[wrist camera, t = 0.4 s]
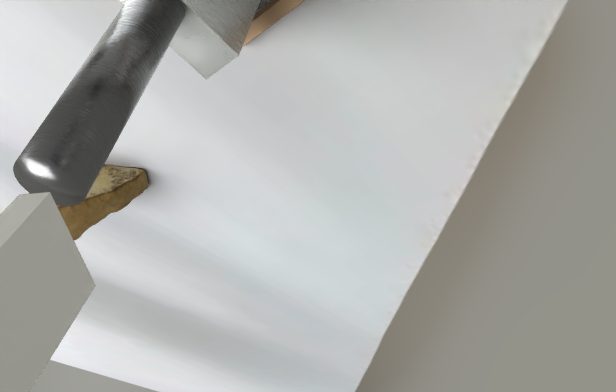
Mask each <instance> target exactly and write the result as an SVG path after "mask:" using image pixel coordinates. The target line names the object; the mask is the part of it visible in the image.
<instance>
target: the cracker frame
mask: <svg viewBox="0 0 616 392" xmlns="http://www.w3.org/2000/svg"><path fill="white" fill-rule="evenodd" d="M303 1H304V0H272V1H270V2H269V3H268V4H266V5H265V6H264V7H263V8H261V9H260V10H259V11H258V12H256V14H255V16H254V19H253V21H252V24H251V26H250V29H249V31H248V34H247V36H246V39H245V41H244V44H243V46H244V45H245V44H247V43H248V42H249V41H251V40H252V39H253V38H255V37H256V36H257V35H259V34H260V33H261V32H263V31H264V30H265V29H267V28H268V27H269V26H271V25H272V24H273V23H275V22H276V21H277V20H279V19H280V18H281V17H283V16H284V15H285V14H287V13H288V12H289V11H291V10H292V9H294V8H295V7H296V6H298V5H299V4H300V3H302V2H303ZM243 46H242V47H243Z"/></svg>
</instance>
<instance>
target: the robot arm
mask: <svg viewBox="0 0 616 392" xmlns="http://www.w3.org/2000/svg"><path fill="white" fill-rule="evenodd" d="M95 286H96V285H95V283H94V281H93V279H92V277H91V275H90V273H89V271H88V269H87V267H86V265H85V263H84V261H83V259H82V257H81V255H80V253H79V250H78V248H77V246H76V244H75V242H74V240H73V238H72V236H71V234H70V232H69V230H68V228H67V226H66V224H65V222H64V220H63V218H62V216H61V214H60V212H59V210H58V208H57V205H56V203H55V201H54V199H53V197H52V195H51V193H50V192H45V193H33V194H22V195H19V196H18V197H17V198H16V199H15V200H14V201H13V202H12V203H11V204H10V205H9V206H8V207H7V208H6V209H5V210H4V211H3V212H2V213H1V214H0V392H30V390H31V389H32V387H33V385H34V384H35V382H36V381H37V379H38V377H39V376H40V374H41V372H42V371H43V369H44V368H45V366H46V364H47V363H48V361H49V360H50V358H51V356H52V355H53V353H54V352H55V350H56V348H57V347H58V345H59V344H60V342H61V340H62V339H63V337H64V336H65V334H66V332H67V331H68V329H69V328H70V326H71V324H72V323H73V321H74V320H75V318H76V316H77V315H78V313H79V312H80V310H81V308H82V307H83V305H84V303H85V302H86V300H87V299H88V297H89V295H90V294H91V292H92V291H93V289H94V287H95Z"/></svg>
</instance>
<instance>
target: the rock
mask: <svg viewBox="0 0 616 392" xmlns="http://www.w3.org/2000/svg"><path fill="white" fill-rule="evenodd" d="M147 188H148V182H147V176H146V173H145V171H144V170H142V169H137V168H128V167H120V166H114V165H103V167H102V169H101V170H100V172H99V174H98V176H97V178H96V180H95V181H94V183H93V185H92V187H91V189H90V191H89V192H88V194H87V196H86V198H85V199H84V201H83V202H82V203H80V204H78V205H74V206H59V205H57V208H58V210H59V212H60V214H61V216H62V218H63V220H64V222H65V224H66V226H67V228H68V230H69V232H70V234H71V236H72V238H73V240H76V239H78V238H79V237H80V236H81V235H82V234H83V233H84V232H85V231H86V230H87V229H88V228H89V227H91V226H92V225H95V224H96V223H98V222H99V221H100V220H102V219H104V218H105V217H106V216H107V215H108V214H110V213H113V212H117V211H119V210H121V209H123V208H124V207H125V206H127V205H128V204H129V203H130V202H131V200H133V199H134V198H135V197H137V196H139V195H140V194H141V193H143V191H144V190H145V189H147ZM29 194H31V193H29Z"/></svg>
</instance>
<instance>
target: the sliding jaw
mask: <svg viewBox="0 0 616 392" xmlns="http://www.w3.org/2000/svg"><path fill="white" fill-rule="evenodd" d="M119 1H120V2H121V3H123V4H124V6H123V7H122V9H121V10H120V12H119V13H118V15H117V16H116V18H115V19H114V20H113V22H112V23H111V25H110V26H109V28H108V29H107V31H106V32H105V33H104V35H103V36H102V38H101V39H100V41H99V42H98V44H97V45H96V46H95V48H94V49H93V51H92V52H91V54H90V55H89V57H88V58H87V59H86V61H85V62H84V64H83V65H82V67H81V68H80V70H79V71H78V72H77V74H76V75H75V77H74V78H73V80H72V81H71V83H70V84H69V85H68V87H67V88H66V90H65V91H64V93H63V94H62V96H61V97H60V98H59V100H58V101H57V103H56V104H55V106H54V107H53V109H52V110H51V111H50V113H49V114H48V116H47V117H46V119H45V120H44V122H43V123H42V124H41V126H40V127H39V129H38V130H37V132H36V133H35V134H34V136H33V137H32V139H31V140H30V142H29V143H28V145H27V146H26V147H25V149H24V150H23V152H22V153H21V155H20V156H19V158H18V159H17V160H16V162H15V164H14V167H13V171H14V174H15V177H16V179H17V180H18V182H19V183H20V184H21V185H22V187H24V188H25V189H26V190H27V191H28V192H29V193H31V194H33V193H45V192H50V193H51V195H52V197H53V199H54V201H55V203H56V205H59V206H74V205H78V204H80V203H82V202H83V201H84V199H85V198H86V196H87V194H88V192H89V191H90V189H91V187H92V185H93V183H94V181H95V180H96V178H97V176H98V174H99V172H100V170H101V169H102V167H103V165H104V163H105V161H106V159H107V158H108V156H109V154H110V152H111V150H112V149H113V147H114V145H115V143H116V141H117V139H118V138H119V136H120V134H121V132H122V130H123V128H124V127H125V125H126V123H127V121H128V119H129V117H130V116H131V114H132V112H133V110H134V108H135V106H136V105H137V103H138V101H139V99H140V97H141V96H142V94H143V92H144V90H145V88H146V86H147V85H148V83H149V81H150V79H151V77H152V75H153V74H154V72H155V70H156V68H157V66H158V64H159V63H160V61H161V59H162V57H163V55H164V53H165V52H166V50H167V48H168V46H170V47H171V48H172V49H173V50H174V51H176V52H177V53H178V54H179V55H180V56H181V57H182V58H183V59H184V60H185V61H187V62H188V63H189V64H190V65H191V66H192V67H193V68H194V69H195V70H196V71H198V72H199V73H200V74H201V75H202V76H203V77H204V78H205V79H208V78H209V77H210V76H212V75H213V74H214V73H216V72H217V71H219V70H220V69H221V68H223V67H224V66H225V65H227V64H228V63H229V62H231V61H232V60H233V59H235V58H236V57H237V56H239V54H240V51H241V49H242V46H243V44H244V41H245V39H246V36H247V34H248V31H249V29H250V26H251V24H252V21H253V19H254V16H255V14H256V11H257V9H258V6H259V4H260V1H261V0H119Z"/></svg>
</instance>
